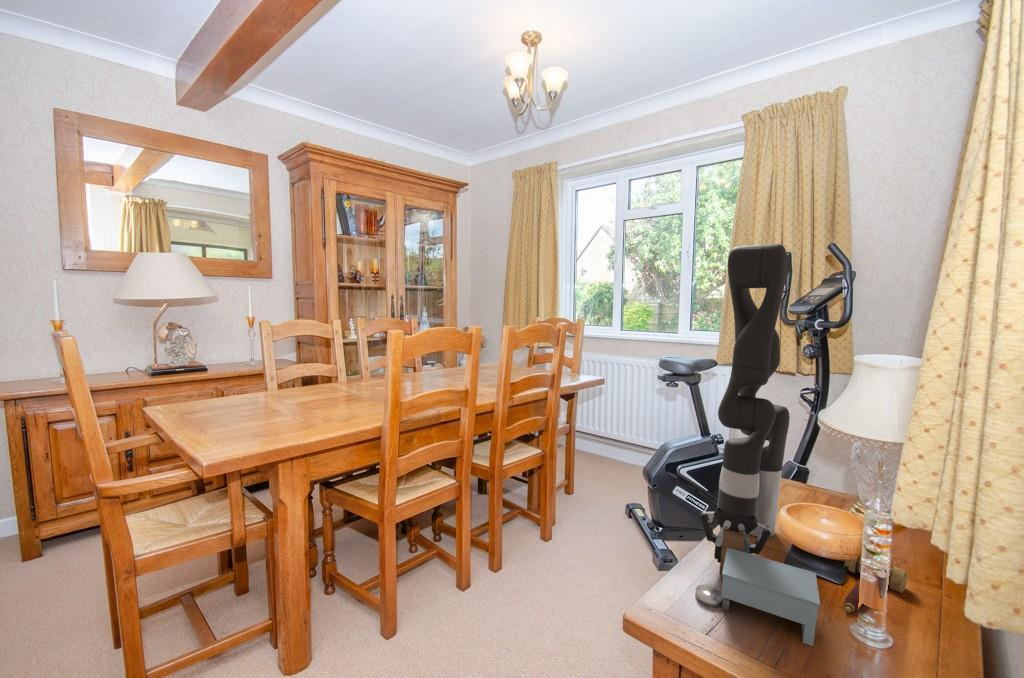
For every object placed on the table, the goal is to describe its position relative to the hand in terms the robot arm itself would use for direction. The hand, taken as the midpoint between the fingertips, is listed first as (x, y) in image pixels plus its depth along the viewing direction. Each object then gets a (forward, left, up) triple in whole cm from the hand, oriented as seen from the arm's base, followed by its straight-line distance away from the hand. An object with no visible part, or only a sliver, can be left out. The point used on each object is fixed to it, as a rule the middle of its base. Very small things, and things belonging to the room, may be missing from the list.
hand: (730, 563), depth 100 cm
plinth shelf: (+10, +7, -2) cm, 12 cm away
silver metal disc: (+12, -3, -2) cm, 12 cm away
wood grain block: (+6, 0, -2) cm, 6 cm away
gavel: (-8, +24, -3) cm, 26 cm away
